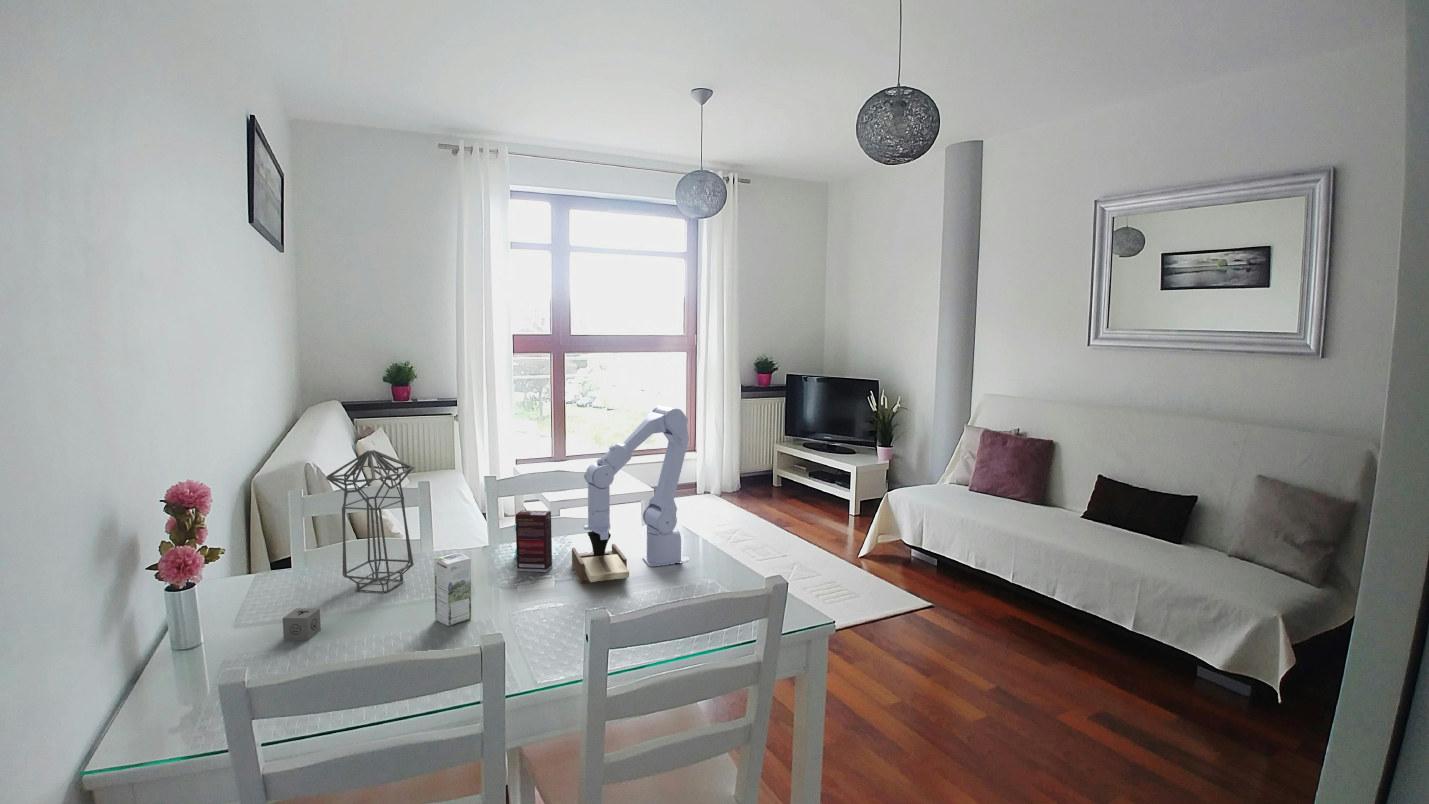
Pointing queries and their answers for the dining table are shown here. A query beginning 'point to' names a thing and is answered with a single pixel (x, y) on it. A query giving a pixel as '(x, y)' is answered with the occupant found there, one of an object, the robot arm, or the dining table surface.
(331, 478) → the geometric lantern
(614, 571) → the lid
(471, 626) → the dining table surface
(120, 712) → the dining table surface
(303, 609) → the dice cube
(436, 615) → the syrup box
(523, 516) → the supplement box
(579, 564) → the box
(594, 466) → the robot arm
